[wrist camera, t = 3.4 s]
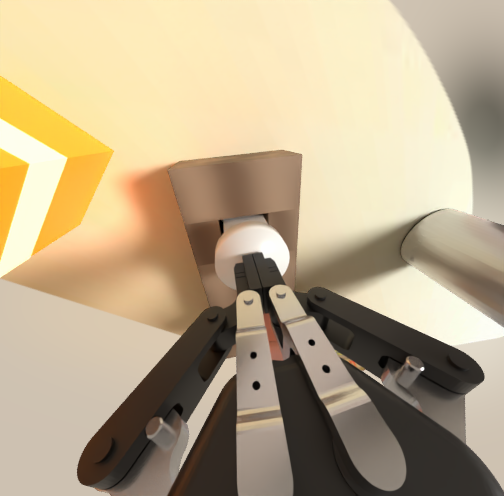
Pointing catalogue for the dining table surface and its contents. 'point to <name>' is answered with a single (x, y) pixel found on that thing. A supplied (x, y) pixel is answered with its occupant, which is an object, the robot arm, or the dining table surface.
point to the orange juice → (41, 175)
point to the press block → (237, 207)
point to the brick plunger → (272, 340)
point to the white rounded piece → (248, 245)
